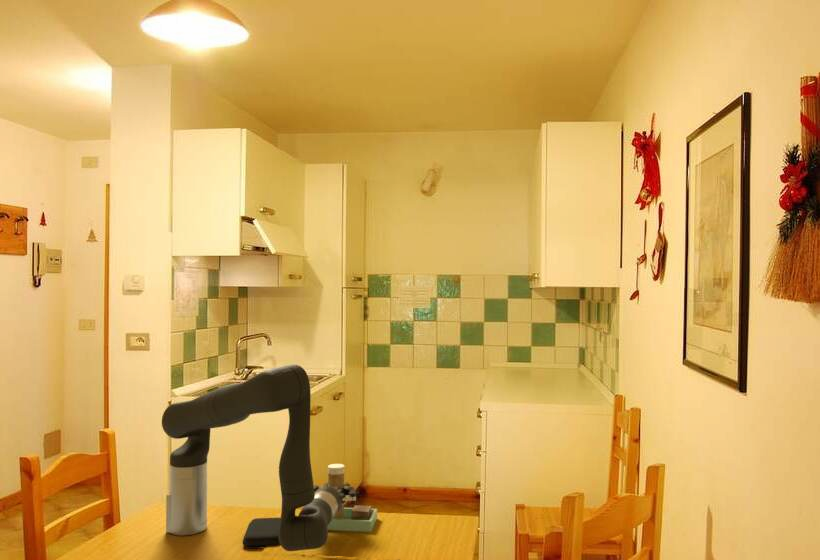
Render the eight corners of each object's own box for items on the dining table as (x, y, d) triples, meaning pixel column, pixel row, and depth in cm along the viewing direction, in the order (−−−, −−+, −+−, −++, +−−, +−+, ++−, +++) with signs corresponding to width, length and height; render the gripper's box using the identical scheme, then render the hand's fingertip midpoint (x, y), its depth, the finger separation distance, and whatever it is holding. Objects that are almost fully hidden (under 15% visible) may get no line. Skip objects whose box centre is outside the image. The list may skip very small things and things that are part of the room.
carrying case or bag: (286, 549, 153) (290, 526, 167) (286, 536, 153) (291, 514, 167) (241, 551, 151) (249, 528, 166) (241, 538, 151) (249, 516, 166)
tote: (315, 531, 163) (315, 519, 163) (324, 518, 172) (324, 506, 172) (371, 534, 161) (371, 521, 161) (377, 520, 170) (377, 508, 170)
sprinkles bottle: (347, 517, 166) (348, 466, 166) (331, 520, 164) (332, 468, 164) (339, 512, 170) (340, 462, 170) (324, 515, 167) (324, 464, 168)
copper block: (351, 526, 165) (351, 511, 165) (354, 520, 169) (354, 505, 169) (368, 527, 164) (368, 511, 164) (371, 520, 169) (371, 505, 169)
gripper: (351, 492, 152) (364, 472, 169) (293, 490, 154) (312, 470, 171) (351, 523, 152) (364, 500, 169) (293, 521, 153) (312, 498, 170)
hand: (338, 486), depth 170 cm, fingers closed on sprinkles bottle, 4 cm apart
